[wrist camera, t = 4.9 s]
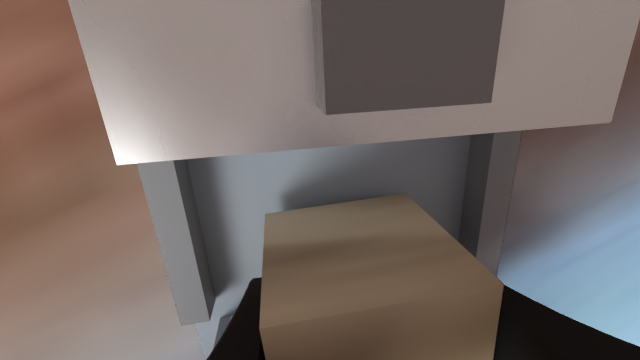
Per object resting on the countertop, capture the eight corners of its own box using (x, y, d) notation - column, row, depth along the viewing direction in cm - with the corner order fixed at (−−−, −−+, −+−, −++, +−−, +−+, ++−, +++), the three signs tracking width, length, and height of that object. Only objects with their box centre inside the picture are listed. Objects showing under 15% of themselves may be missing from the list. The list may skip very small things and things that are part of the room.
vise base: (452, 295, 16) (562, 437, 10) (210, 329, 14) (164, 519, 8) (494, -60, 11) (790, -231, 4) (122, -54, 9) (-171, -289, 3)
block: (404, 284, 12) (485, 414, 8) (280, 306, 12) (286, 460, 7) (405, 193, 11) (504, 283, 6) (265, 213, 10) (259, 328, 6)
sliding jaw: (467, 99, 10) (673, 132, 5) (191, 119, 9) (79, 187, 4) (478, -2, 9) (753, -98, 4) (170, 9, 8) (-21, -99, 3)
